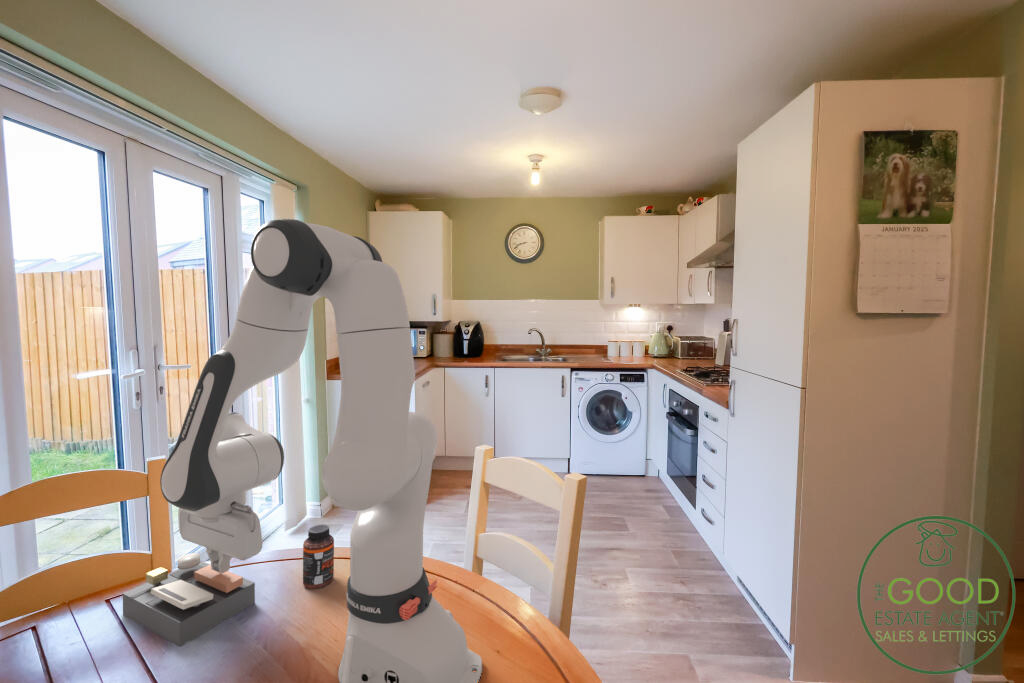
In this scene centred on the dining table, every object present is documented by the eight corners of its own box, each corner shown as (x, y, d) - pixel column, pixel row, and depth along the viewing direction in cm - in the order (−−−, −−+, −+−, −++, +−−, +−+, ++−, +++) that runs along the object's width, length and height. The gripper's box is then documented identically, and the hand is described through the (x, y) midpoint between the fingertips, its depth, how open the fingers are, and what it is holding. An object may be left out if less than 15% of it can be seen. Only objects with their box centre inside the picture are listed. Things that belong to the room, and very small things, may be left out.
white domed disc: (204, 562, 89) (204, 555, 88) (184, 571, 85) (184, 564, 85) (193, 558, 90) (193, 551, 90) (173, 566, 87) (173, 559, 87)
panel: (255, 603, 84) (255, 582, 84) (179, 646, 73) (179, 622, 73) (199, 578, 92) (198, 559, 92) (122, 614, 81) (122, 592, 80)
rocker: (212, 601, 78) (213, 593, 78) (182, 612, 74) (184, 603, 74) (179, 586, 82) (181, 579, 82) (150, 595, 78) (151, 588, 78)
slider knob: (168, 583, 83) (167, 570, 83) (153, 589, 81) (153, 576, 81) (160, 579, 84) (160, 567, 84) (146, 586, 82) (146, 573, 82)
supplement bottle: (326, 590, 89) (326, 535, 88) (297, 590, 89) (297, 534, 89) (338, 574, 95) (338, 522, 94) (311, 573, 95) (311, 521, 95)
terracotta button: (242, 584, 83) (242, 577, 83) (226, 593, 80) (226, 585, 80) (210, 571, 87) (210, 564, 87) (194, 578, 84) (194, 571, 84)
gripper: (271, 501, 81) (272, 575, 82) (205, 484, 90) (206, 551, 91) (237, 514, 76) (238, 593, 76) (170, 495, 85) (172, 565, 85)
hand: (220, 570), depth 84 cm, fingers closed
